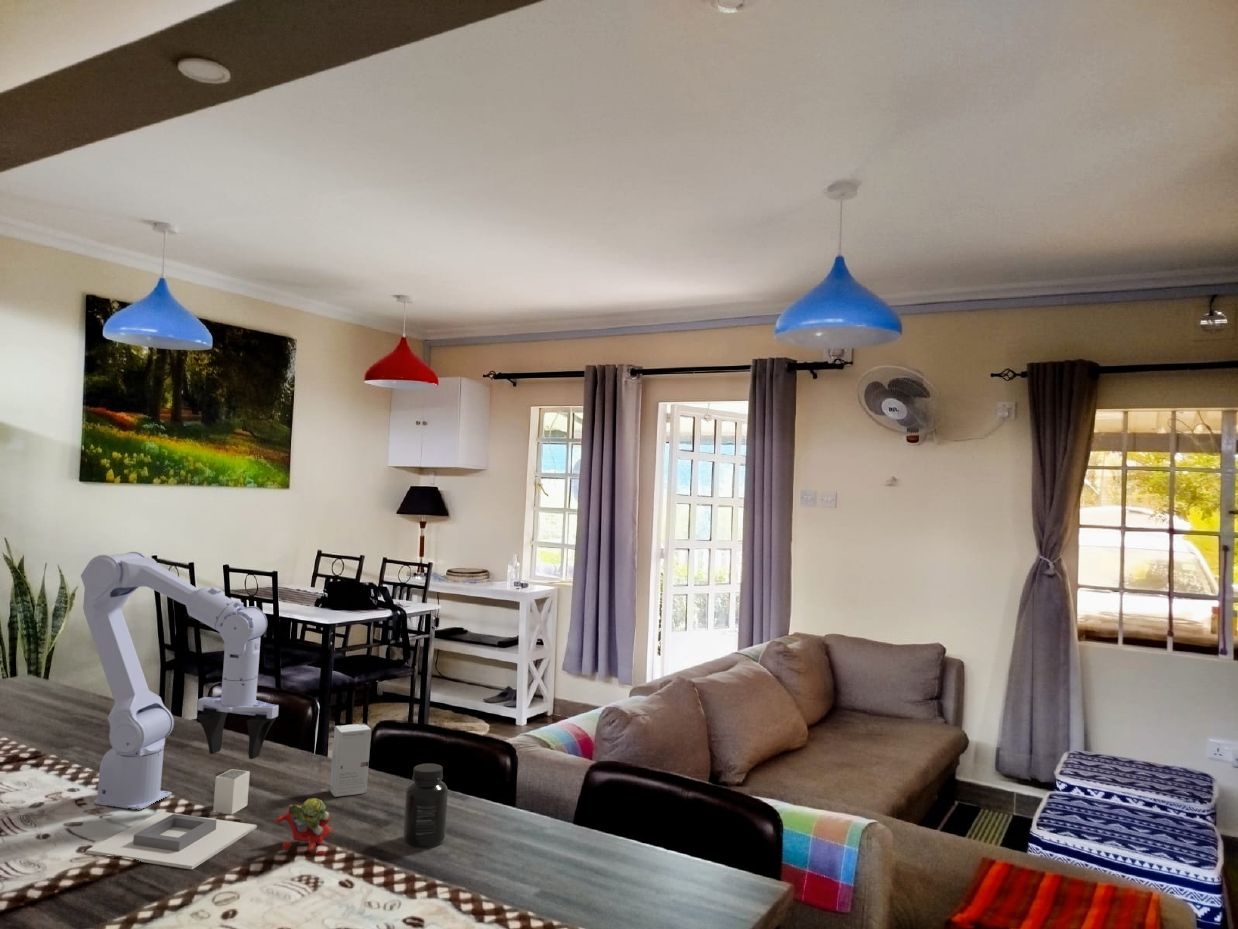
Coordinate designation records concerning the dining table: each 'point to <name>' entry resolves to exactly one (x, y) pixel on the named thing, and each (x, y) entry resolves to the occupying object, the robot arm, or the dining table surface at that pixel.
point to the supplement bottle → (425, 807)
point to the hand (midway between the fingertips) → (234, 754)
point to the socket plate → (173, 840)
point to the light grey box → (231, 791)
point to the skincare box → (350, 760)
